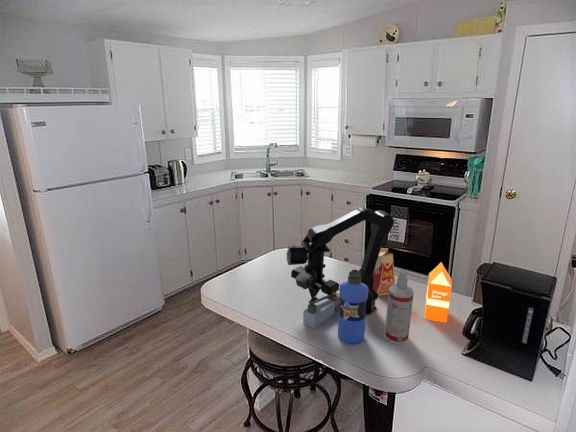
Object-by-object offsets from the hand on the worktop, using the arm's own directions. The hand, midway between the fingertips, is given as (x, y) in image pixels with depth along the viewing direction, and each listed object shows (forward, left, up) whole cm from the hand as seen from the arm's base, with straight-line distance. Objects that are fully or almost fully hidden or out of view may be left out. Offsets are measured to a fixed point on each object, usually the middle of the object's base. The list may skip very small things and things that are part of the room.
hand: (313, 299), depth 140 cm
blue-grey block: (-3, 0, -6) cm, 7 cm away
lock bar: (-2, -3, 0) cm, 4 cm away
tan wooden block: (-3, -9, -6) cm, 11 cm away
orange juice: (-35, -31, -7) cm, 47 cm away
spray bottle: (-30, -8, -7) cm, 32 cm away
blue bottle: (-18, +2, -7) cm, 19 cm away
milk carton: (-10, -35, -7) cm, 37 cm away
